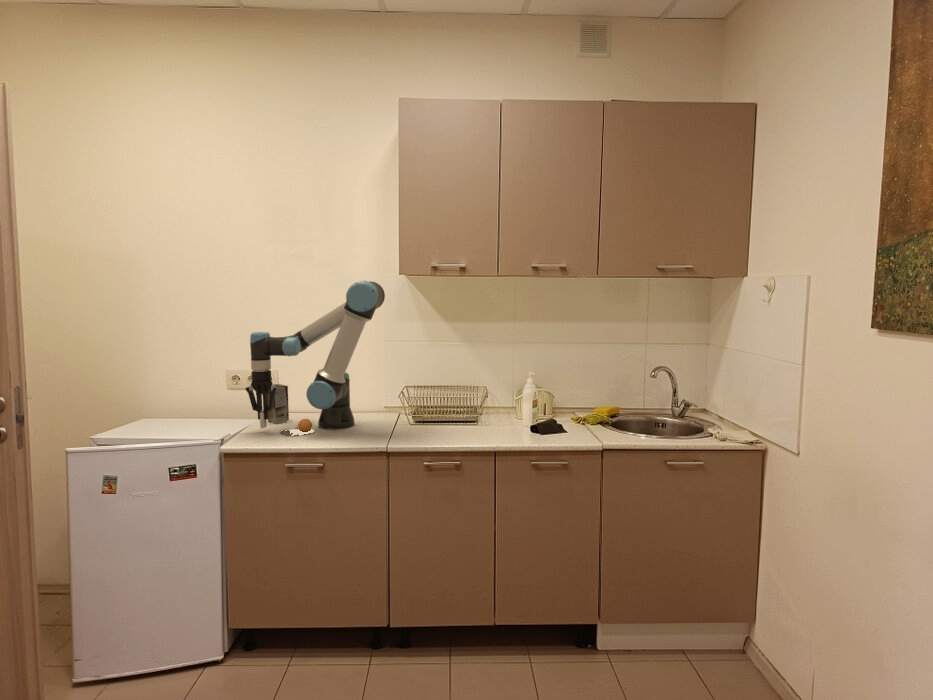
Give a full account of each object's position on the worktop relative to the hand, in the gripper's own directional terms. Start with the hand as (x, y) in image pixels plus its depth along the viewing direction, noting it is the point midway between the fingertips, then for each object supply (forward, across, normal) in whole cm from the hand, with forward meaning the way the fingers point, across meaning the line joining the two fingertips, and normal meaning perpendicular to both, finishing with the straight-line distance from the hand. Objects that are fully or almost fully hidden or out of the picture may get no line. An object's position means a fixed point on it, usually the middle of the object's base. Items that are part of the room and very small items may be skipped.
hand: (263, 427), depth 238 cm
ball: (-1, -17, 0) cm, 17 cm away
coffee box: (+2, +1, -19) cm, 19 cm away
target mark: (+2, -14, 0) cm, 14 cm away
